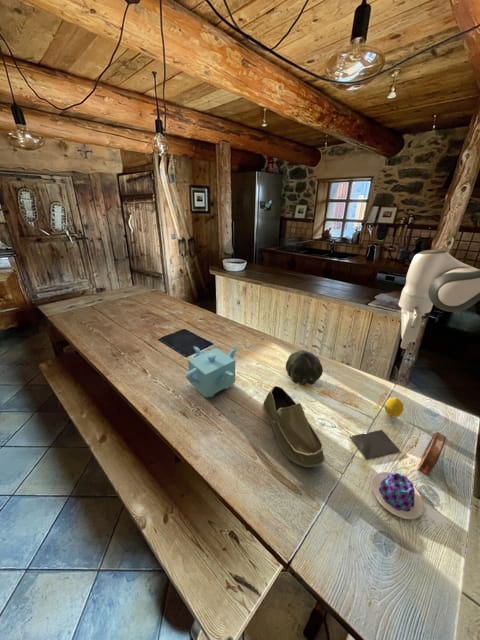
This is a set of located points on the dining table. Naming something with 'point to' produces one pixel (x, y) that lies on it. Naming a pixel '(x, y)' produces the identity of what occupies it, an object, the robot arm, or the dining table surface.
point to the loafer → (293, 429)
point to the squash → (304, 367)
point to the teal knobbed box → (211, 371)
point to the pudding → (397, 495)
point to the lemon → (394, 407)
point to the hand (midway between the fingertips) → (403, 341)
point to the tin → (432, 453)
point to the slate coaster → (374, 444)
